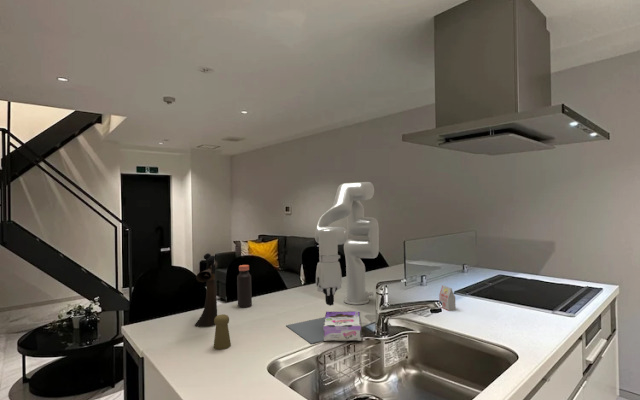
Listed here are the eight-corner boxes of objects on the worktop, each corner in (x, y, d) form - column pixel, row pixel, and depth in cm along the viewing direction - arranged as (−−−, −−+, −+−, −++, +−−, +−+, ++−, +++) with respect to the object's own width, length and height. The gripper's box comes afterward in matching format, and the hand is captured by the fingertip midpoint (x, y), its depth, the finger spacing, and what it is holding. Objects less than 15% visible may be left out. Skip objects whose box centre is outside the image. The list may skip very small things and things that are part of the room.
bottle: (239, 308, 170) (238, 267, 170) (236, 305, 176) (235, 265, 176) (253, 306, 173) (252, 266, 174) (249, 303, 179) (248, 264, 180)
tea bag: (446, 306, 166) (445, 285, 166) (455, 310, 160) (455, 288, 160) (439, 306, 165) (439, 285, 165) (448, 311, 159) (447, 288, 159)
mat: (323, 318, 153) (323, 317, 153) (352, 333, 134) (352, 332, 134) (286, 326, 144) (286, 325, 144) (311, 344, 125) (311, 343, 125)
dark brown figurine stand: (214, 336, 135) (212, 258, 135) (187, 339, 133) (186, 259, 133) (221, 312, 166) (219, 248, 166) (200, 313, 164) (198, 249, 164)
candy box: (359, 310, 142) (361, 325, 126) (360, 325, 142) (362, 341, 126) (325, 311, 143) (323, 325, 127) (326, 325, 143) (323, 341, 127)
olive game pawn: (215, 343, 128) (214, 313, 129) (232, 342, 129) (231, 312, 129) (211, 350, 122) (211, 318, 123) (229, 349, 123) (228, 317, 123)
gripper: (339, 256, 149) (340, 299, 149) (308, 259, 142) (309, 305, 142) (349, 258, 143) (350, 303, 143) (317, 262, 135) (318, 310, 135)
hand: (329, 304), depth 142 cm, fingers closed
